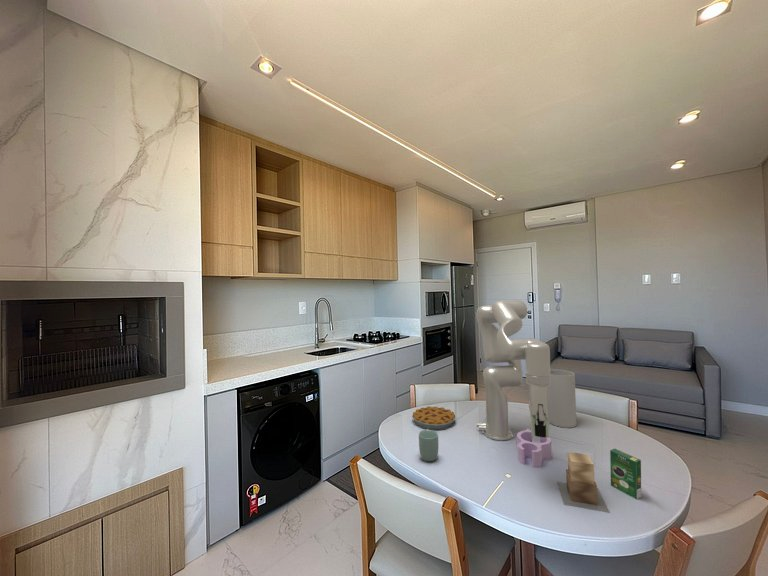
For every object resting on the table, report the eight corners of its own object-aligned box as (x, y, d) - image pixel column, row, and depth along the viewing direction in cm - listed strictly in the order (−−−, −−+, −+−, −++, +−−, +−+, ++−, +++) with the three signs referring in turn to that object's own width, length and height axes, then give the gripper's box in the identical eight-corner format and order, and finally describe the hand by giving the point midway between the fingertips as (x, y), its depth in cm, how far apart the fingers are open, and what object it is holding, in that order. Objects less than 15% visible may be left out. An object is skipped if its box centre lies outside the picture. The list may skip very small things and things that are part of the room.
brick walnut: (571, 500, 97) (570, 481, 97) (566, 487, 104) (565, 469, 104) (597, 505, 95) (597, 485, 95) (591, 491, 101) (590, 472, 101)
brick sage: (532, 436, 105) (531, 418, 105) (530, 429, 110) (530, 412, 109) (548, 438, 103) (548, 419, 103) (546, 431, 108) (546, 413, 108)
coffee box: (643, 501, 98) (641, 459, 98) (637, 503, 97) (636, 461, 97) (615, 486, 105) (614, 447, 105) (610, 489, 104) (608, 449, 104)
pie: (429, 410, 177) (428, 401, 177) (463, 421, 162) (463, 411, 162) (404, 423, 161) (403, 413, 161) (439, 435, 146) (439, 425, 146)
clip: (546, 474, 114) (546, 455, 114) (510, 464, 121) (510, 446, 121) (553, 450, 130) (553, 433, 130) (521, 443, 137) (521, 427, 137)
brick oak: (572, 480, 97) (571, 461, 98) (567, 470, 103) (567, 451, 103) (594, 484, 95) (593, 464, 95) (589, 473, 101) (588, 454, 101)
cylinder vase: (576, 420, 158) (574, 371, 158) (576, 430, 147) (574, 377, 147) (548, 416, 164) (547, 368, 165) (546, 425, 154) (544, 374, 154)
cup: (440, 455, 128) (439, 430, 129) (437, 465, 121) (436, 439, 121) (421, 452, 131) (420, 428, 131) (417, 462, 124) (416, 436, 124)
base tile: (563, 508, 96) (563, 504, 96) (556, 485, 107) (556, 481, 107) (610, 517, 91) (610, 512, 91) (598, 491, 103) (597, 488, 103)
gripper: (524, 371, 116) (525, 421, 116) (528, 386, 100) (529, 443, 100) (546, 373, 113) (547, 423, 113) (554, 388, 97) (556, 446, 97)
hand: (539, 432), depth 106 cm, fingers closed on brick sage, 5 cm apart
